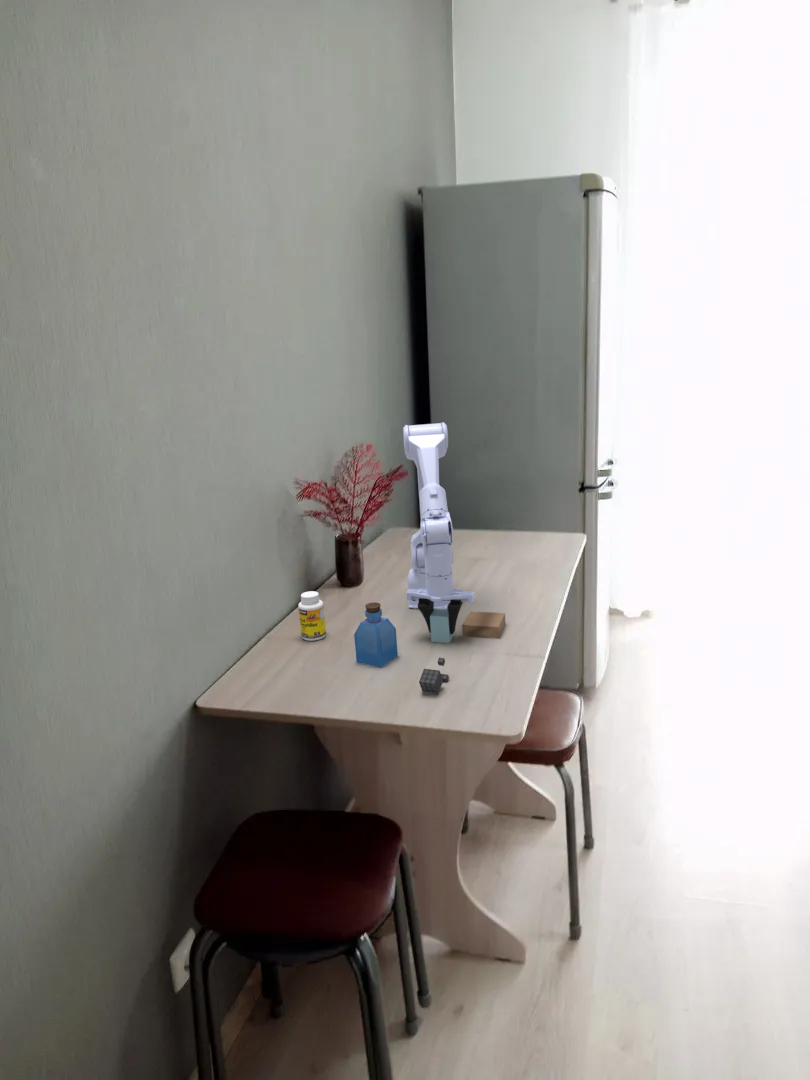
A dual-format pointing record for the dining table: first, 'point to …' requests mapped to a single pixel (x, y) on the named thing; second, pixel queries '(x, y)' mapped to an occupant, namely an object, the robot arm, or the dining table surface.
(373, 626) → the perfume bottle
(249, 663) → the dining table surface
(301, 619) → the supplement bottle
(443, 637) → the teal block
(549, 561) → the dining table surface
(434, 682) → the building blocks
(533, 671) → the dining table surface
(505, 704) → the dining table surface
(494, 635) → the walnut base block
